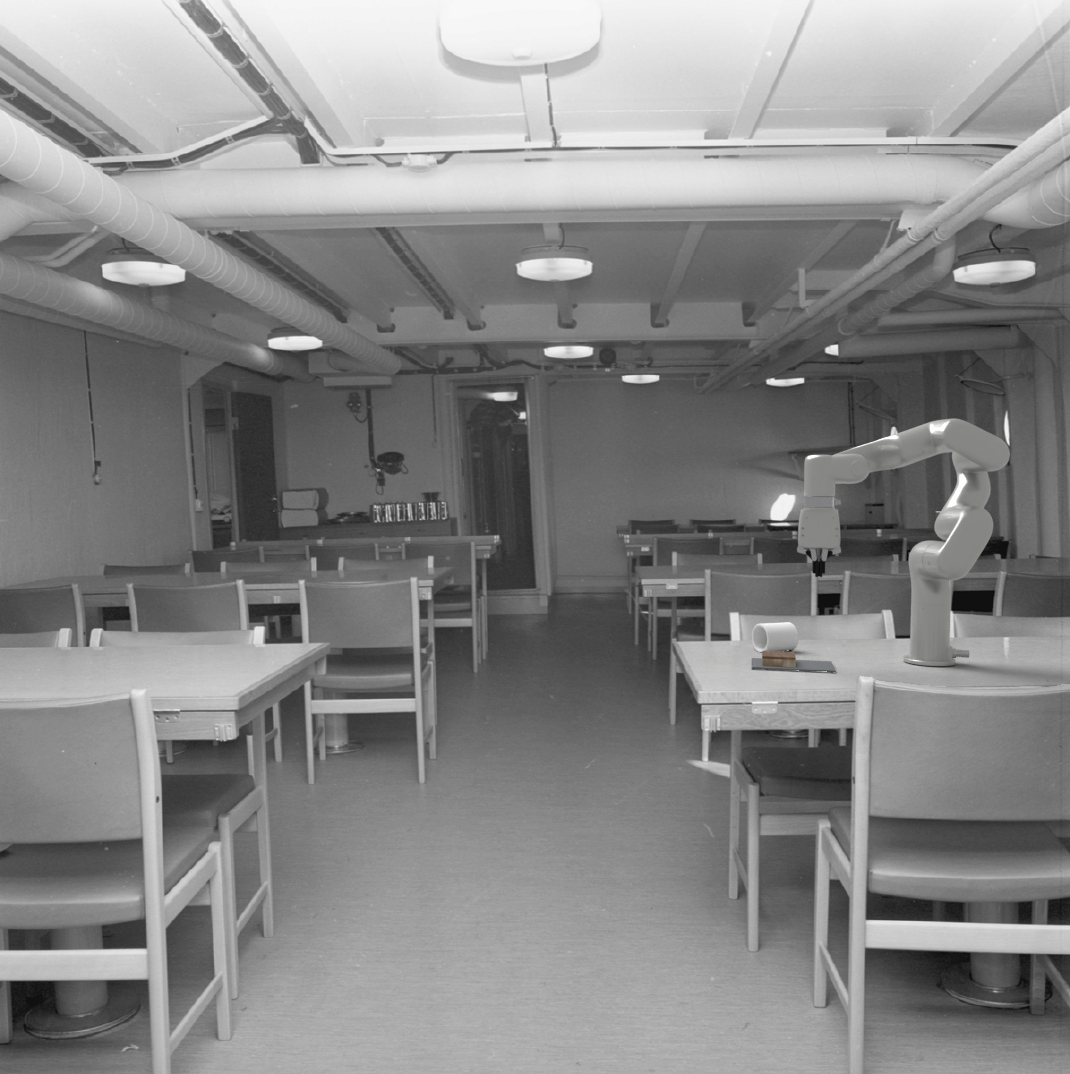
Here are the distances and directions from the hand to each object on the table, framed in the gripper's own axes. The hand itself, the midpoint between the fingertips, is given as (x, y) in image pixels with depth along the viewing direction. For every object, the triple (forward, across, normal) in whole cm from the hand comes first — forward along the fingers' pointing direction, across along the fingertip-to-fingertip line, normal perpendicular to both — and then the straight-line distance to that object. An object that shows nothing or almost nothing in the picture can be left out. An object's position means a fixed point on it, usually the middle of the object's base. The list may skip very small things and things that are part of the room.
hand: (818, 576), depth 251 cm
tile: (+21, +6, +3) cm, 22 cm away
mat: (+23, +6, +3) cm, 24 cm away
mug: (+23, +11, -22) cm, 34 cm away
